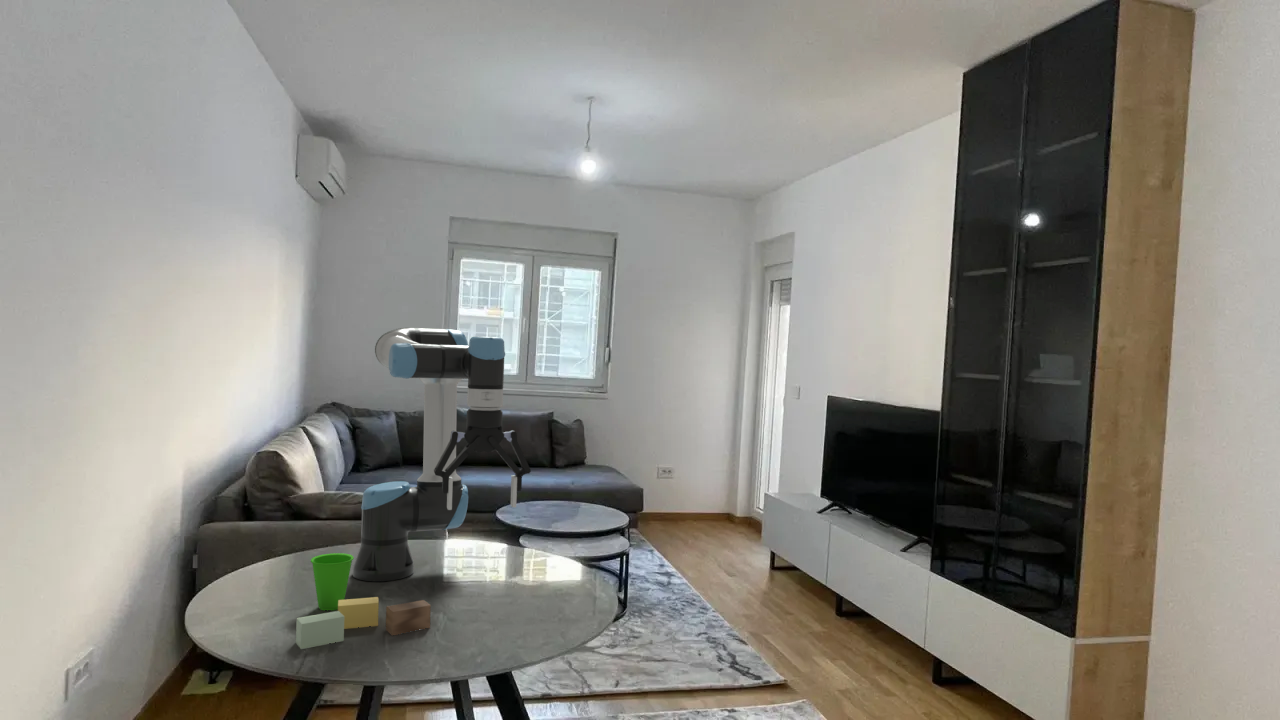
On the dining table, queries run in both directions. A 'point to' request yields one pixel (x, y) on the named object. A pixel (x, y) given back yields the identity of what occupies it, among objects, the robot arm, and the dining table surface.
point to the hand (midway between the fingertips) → (481, 507)
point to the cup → (331, 578)
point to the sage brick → (319, 629)
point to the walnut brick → (407, 617)
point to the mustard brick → (359, 612)
